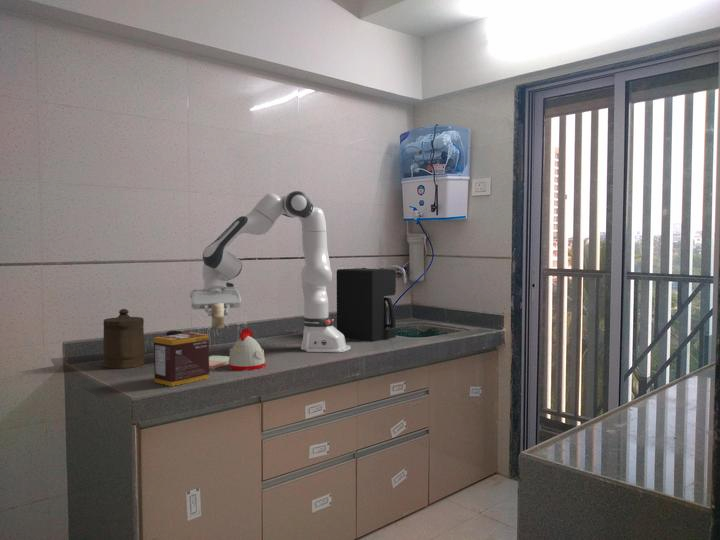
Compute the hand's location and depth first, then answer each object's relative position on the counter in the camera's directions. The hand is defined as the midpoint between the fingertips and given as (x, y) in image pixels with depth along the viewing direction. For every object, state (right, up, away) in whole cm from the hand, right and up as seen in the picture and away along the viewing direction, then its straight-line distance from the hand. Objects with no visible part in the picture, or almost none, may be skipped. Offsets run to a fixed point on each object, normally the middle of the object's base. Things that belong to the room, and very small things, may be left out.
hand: (218, 314), depth 232 cm
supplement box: (-3, -20, -36) cm, 42 cm away
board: (0, -19, -8) cm, 20 cm away
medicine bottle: (-18, -19, -1) cm, 26 cm away
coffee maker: (+63, -16, +56) cm, 86 cm away
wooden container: (-34, -19, -10) cm, 40 cm away
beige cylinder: (0, -5, +1) cm, 5 cm away
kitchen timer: (+15, -19, -14) cm, 28 cm away
